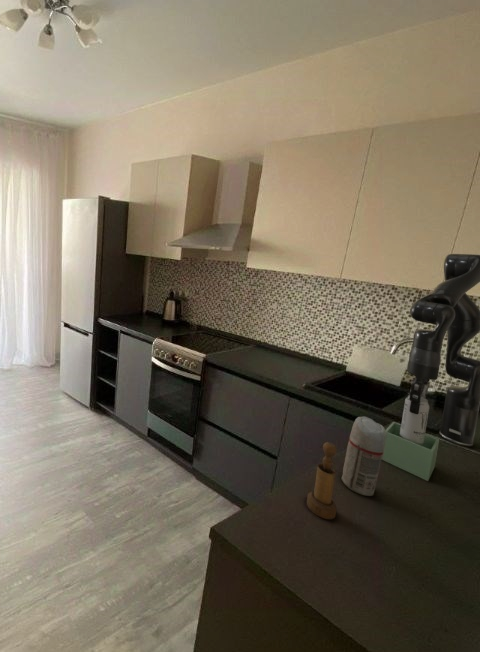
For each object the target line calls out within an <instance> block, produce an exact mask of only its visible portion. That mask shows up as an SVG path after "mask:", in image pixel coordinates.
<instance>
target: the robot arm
mask: <svg viewBox="0 0 480 652" xmlns="http://www.w3.org/2000/svg"><path fill="white" fill-rule="evenodd" d="M443 274H444V275H443V276H444V281H442V282H440V283H439V284H437V285H436V286H435V287H434V288H433V290H432V291H431V292H430V293H429V294H426V295H425V296H423V297H421V298H419V299H417V300H416V301H415V302H413V303H412V305H411V307H410V310H409V314H410V317H411V318H412V319H413V320H415V321H416V322H420V323H425V324H430V325H435V326H434V327H433V328H432V329H422V328H420V329H419V328H417V329H416V330H414V333H413V338H412V343H411V348H410V350H409V351H410V352H409V356H408V362H407V369H406V372H407V373H408V374H409V375H411V376H414V378H413V379H412V380H411V383H410V386H411V387H410V391H409V395H410V398H409V399H410V401H411V404H410V410H409V411H410V412H411V413H414V414H419V408H420V404H421V400H422V398H425V399H426V398H427V397H426V396H428V392H429V387H430V381H436V380H438V378H439V372H440V366H441V360H442V347H443V343H444V342H443V341H444V338H445V336H446V335H447V336H446V337H447V338H446V339H447V340H446V342H447V343H446V353H445V362H444V363H445V367H444V368H445V372H446V374H447V375H448V376H449V377H451V378H454V379H457V380H461V381H464V382H467V383H468V384H467V386H459V385H458V386H457V385H450V386H448V387H447V388H446V394H445V399H444V404H443V405H444V406H443V411H442V417H441V423H440V428H439V432H438V435H439V436H440V437H441V438H443V439H444V440H446V441H448V442H451V443H453V444H455V445H458V446H463V447H468V448H472V447H473V446H474V439H475V433H476V429H477V423H478V417H479V413H480V412H479V411H480V360H479V359H475V358H472V357H469V356H468V357H467V356H464V355H462V349H463V348H464V347H465V346H466V344H467V343H468V342H470V341H471V340H473V338H475V337H476V336H478V334H479V333H480V308H479V306H477V304H476V303H475V301H473V300H472V299H471V297H470V296H469V295H468V293H467V292H469V291H470V290H471V289H473V288H474V287H475V286H477V285H478V284H479V283H480V254H473V253H471V254H470V253H449V254H447V255H446V256H445V258H444V261H443ZM414 395H416V396H418V399H417V398H414Z"/></svg>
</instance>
